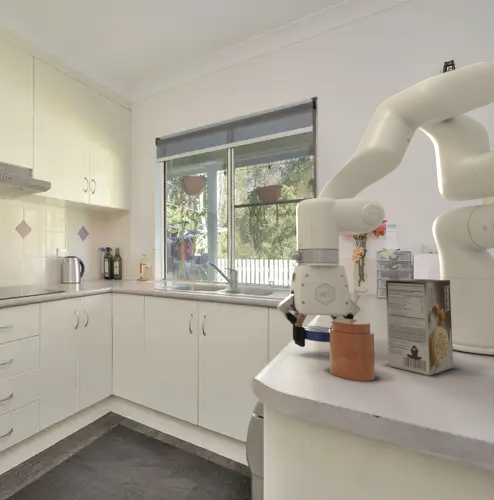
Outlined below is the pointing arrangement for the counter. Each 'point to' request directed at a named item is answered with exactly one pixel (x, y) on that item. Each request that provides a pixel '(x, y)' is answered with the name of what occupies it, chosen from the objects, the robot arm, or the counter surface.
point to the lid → (317, 333)
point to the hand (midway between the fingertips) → (318, 344)
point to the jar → (352, 349)
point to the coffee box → (419, 325)
